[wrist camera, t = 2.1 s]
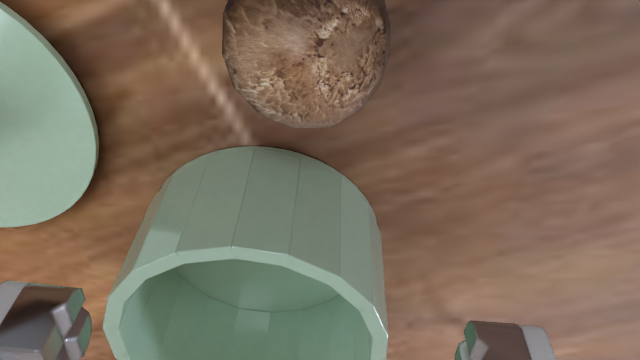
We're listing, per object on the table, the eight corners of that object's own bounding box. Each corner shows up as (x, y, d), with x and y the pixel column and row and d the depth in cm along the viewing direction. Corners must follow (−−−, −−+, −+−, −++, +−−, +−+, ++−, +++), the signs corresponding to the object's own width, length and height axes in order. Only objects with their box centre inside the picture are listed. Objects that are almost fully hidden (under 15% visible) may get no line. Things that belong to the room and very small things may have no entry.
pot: (110, 162, 31) (49, 265, 24) (365, 129, 29) (370, 232, 22) (191, 320, 39) (162, 425, 33) (391, 303, 37) (400, 413, 31)
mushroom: (177, 101, 24) (233, 138, 19) (203, -87, 22) (272, -99, 17) (320, 116, 29) (395, 150, 24) (353, -38, 27) (442, -37, 22)
